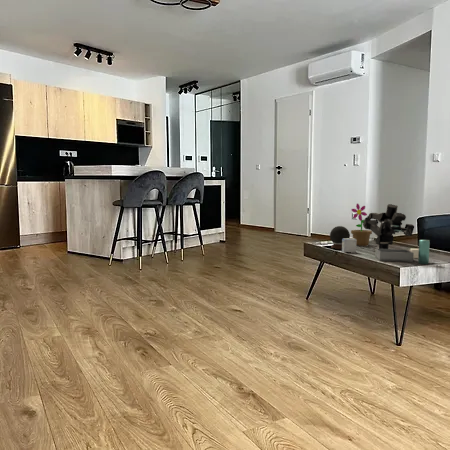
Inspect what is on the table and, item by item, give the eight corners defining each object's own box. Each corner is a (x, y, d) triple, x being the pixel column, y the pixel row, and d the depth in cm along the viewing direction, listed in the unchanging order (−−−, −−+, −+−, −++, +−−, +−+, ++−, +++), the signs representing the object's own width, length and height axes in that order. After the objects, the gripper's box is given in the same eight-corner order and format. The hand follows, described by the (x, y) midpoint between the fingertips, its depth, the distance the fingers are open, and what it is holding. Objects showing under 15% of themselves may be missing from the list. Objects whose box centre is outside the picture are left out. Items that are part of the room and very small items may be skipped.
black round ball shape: (353, 248, 284) (354, 226, 283) (341, 249, 277) (341, 227, 275) (337, 246, 295) (338, 224, 294) (325, 247, 287) (326, 225, 286)
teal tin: (416, 262, 230) (417, 239, 229) (427, 262, 229) (428, 239, 228) (419, 263, 225) (420, 240, 224) (429, 264, 224) (431, 241, 223)
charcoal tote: (375, 257, 247) (375, 248, 247) (406, 257, 244) (407, 249, 244) (379, 260, 234) (380, 251, 234) (413, 261, 231) (413, 252, 231)
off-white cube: (409, 256, 250) (409, 248, 249) (418, 257, 249) (418, 248, 248) (411, 258, 245) (412, 249, 244) (420, 258, 244) (421, 249, 243)
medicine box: (353, 251, 269) (354, 238, 268) (356, 252, 264) (356, 239, 264) (341, 251, 269) (342, 238, 268) (343, 252, 264) (344, 239, 263)
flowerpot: (346, 244, 303) (347, 203, 301) (357, 243, 313) (358, 202, 310) (364, 246, 292) (366, 203, 290) (375, 245, 302) (376, 203, 300)
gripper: (379, 209, 243) (390, 218, 228) (410, 212, 244) (423, 222, 230) (375, 227, 247) (385, 237, 232) (405, 230, 248) (417, 240, 234)
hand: (402, 234), depth 232 cm, fingers open, 9 cm apart
